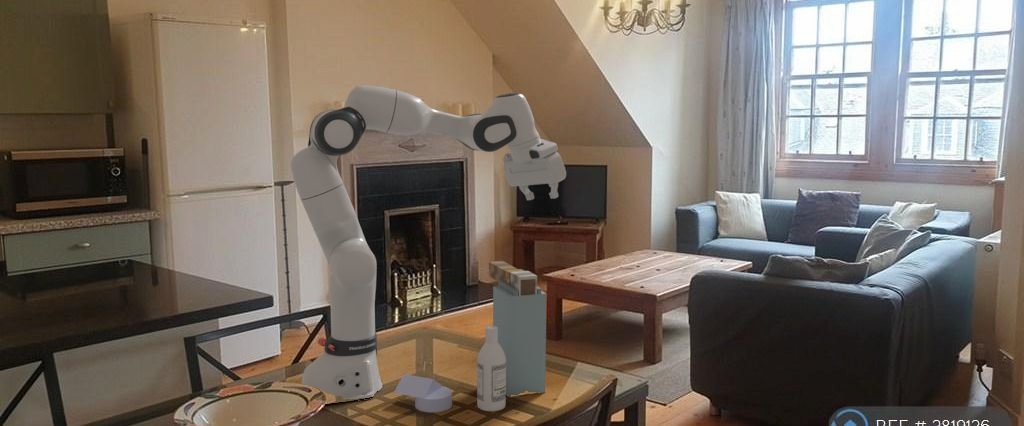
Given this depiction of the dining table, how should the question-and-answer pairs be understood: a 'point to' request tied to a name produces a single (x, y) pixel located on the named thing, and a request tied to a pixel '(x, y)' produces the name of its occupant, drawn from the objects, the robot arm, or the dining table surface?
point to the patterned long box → (514, 277)
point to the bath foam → (491, 373)
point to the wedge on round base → (425, 393)
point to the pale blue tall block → (521, 337)
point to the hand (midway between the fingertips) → (542, 198)
